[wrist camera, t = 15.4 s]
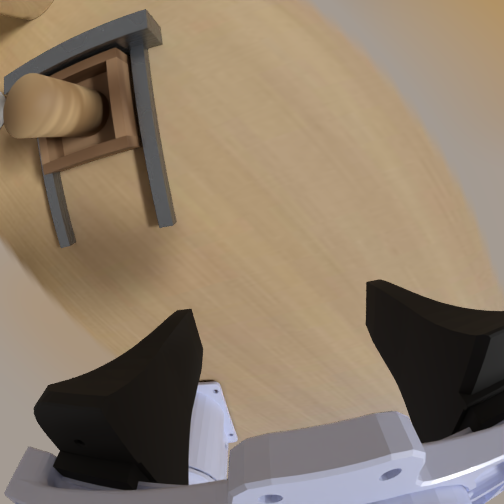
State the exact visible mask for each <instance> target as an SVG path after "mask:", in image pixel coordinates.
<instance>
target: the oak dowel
mask: <svg viewBox="0 0 504 504" xmlns="http://www.w3.org/2000/svg"><path fill="white" fill-rule="evenodd" d="M109 111H110V107H109V102H108V99H107V98H106V96H105V95H104V94H103V93H101V92H99V91H97V90H93V89H90V88H87V87H84V86H80V85H77V84H74V83H70V82H67V81H63V80H60V79H56V78H52V77H48V76H45V75H41V74H37V73H29V74H26V75H24V76H22V77H21V78H20V79H18V80H17V81H16V82H15V84H14V85H13V86H12V88H11V89H10V91H9V93H8V95H7V97H6V100H5V104H4V110H3V120H4V125H5V128H6V130H7V132H8V133H9V134H10V135H11V136H13V137H15V138H38V137H90V136H93V135H95V134H97V133H98V132H99V131H100V130H101V129H102V128H103V127H104V126H105V124H106V122H107V120H108V117H109Z"/></svg>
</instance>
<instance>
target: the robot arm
mask: <svg viewBox="0 0 504 504" xmlns="http://www.w3.org/2000/svg"><path fill="white" fill-rule="evenodd" d="M366 326H367V328H368V331H369V333H370V336H371V338H372V341H373V343H374V344H375V346H376V348H377V350H378V351H379V353H380V355H381V356H382V358H383V360H384V361H385V363H386V365H387V367H388V368H389V370H390V372H391V373H392V375H393V377H394V379H395V381H396V383H397V385H398V387H399V389H400V392H401V394H402V397H403V399H404V402H405V404H406V407H407V410H408V413H409V416H410V419H411V421H410V419H409V417H408V416H406V415H403V414H401V413H399V412H397V411H389V412H380V413H372V414H368V415H364V416H360V417H356V418H352V419H347V420H343V421H338V422H334V423H329V424H324V425H318V426H313V427H307V428H301V429H294V430H288V431H280V432H272V433H267V434H263V435H259V436H255V437H251V438H247V439H245V440H244V441H242V442H241V443H239V444H238V445H237V446H235V447H234V448H233V449H231V450H230V457H229V471H228V472H229V473H228V479H227V478H226V477H227V460H228V443H229V442H236V441H237V435H236V432H235V429H234V426H233V423H232V420H231V417H230V414H229V411H228V408H227V405H226V402H225V399H224V396H223V392H222V389H221V386H220V384H219V383H218V382H214V381H213V382H199V379H200V374H201V369H202V357H203V347H202V344H201V340H200V337H199V334H198V330H197V327H196V323H195V320H194V316H193V313H192V309H185V310H177V311H176V312H174V313H173V314H172V315H171V316H170V317H168V318H167V319H166V320H165V321H164V322H163V323H162V324H161V325H159V326H158V327H157V328H156V329H155V330H154V331H153V332H151V333H150V334H149V335H148V336H147V337H145V338H144V339H143V340H142V341H140V342H139V343H138V344H137V345H135V346H134V347H133V348H131V349H130V350H128V351H127V352H126V353H124V354H122V355H121V356H119V357H118V358H116V359H114V360H113V361H111V362H109V363H107V364H105V365H103V366H101V367H99V368H97V369H95V370H93V371H91V372H88V373H86V374H83V375H81V376H78V377H75V378H72V379H69V380H65V381H62V382H58V383H55V384H50V385H48V386H47V388H46V390H45V391H44V393H43V394H42V396H41V397H40V399H39V400H38V402H37V403H36V405H35V407H34V415H35V417H36V420H37V422H38V424H39V425H40V427H41V428H42V429H43V431H44V432H45V433H46V434H47V436H48V437H49V438H50V439H51V441H52V442H53V443H54V444H55V445H56V446H57V448H58V449H59V450H60V452H59V454H58V456H57V457H56V456H54V455H53V454H51V453H49V452H46V451H42V450H39V449H36V448H33V447H28V448H27V450H26V452H25V454H24V456H23V457H22V459H21V461H20V463H19V465H18V467H17V469H16V471H15V473H14V474H13V477H12V478H11V481H10V482H9V485H8V486H7V489H6V491H5V496H7V497H8V498H9V499H10V500H11V501H13V502H14V503H15V504H485V503H486V502H488V501H489V500H491V499H492V498H494V497H495V496H497V495H498V494H499V493H501V492H502V491H504V311H484V310H475V309H468V308H462V307H457V306H453V305H449V304H445V303H441V302H438V301H435V300H432V299H429V298H426V297H423V296H421V295H418V294H416V293H413V292H411V291H408V290H406V289H404V288H401V287H399V286H397V285H394V284H392V283H389V282H387V281H384V280H374V281H369V282H366ZM215 390H217V391H215ZM411 422H412V423H411Z"/></svg>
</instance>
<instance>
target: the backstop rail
mask: <svg viewBox="0 0 504 504" xmlns="http://www.w3.org/2000/svg"><path fill="white" fill-rule="evenodd" d="M161 44H162V37H161V28H160V26H159V25H158V24H157V22H156V21H155V20H154V19H153V17H152V16H151V15H150V14H149V12H148V11H147V10H146V9H145V10H142V11H138V12H135V13H132V14H129V15H127V16H124V17H121V18H118V19H116V20H113V21H110V22H108V23H105V24H103V25H100V26H98V27H96V28H93V29H91V30H89V31H86V32H84V33H82V34H80V35H78V36H75V37H73V38H71V39H69V40H67V41H65V42H63V43H61V44H59V45H57V46H55V47H53V48H52V49H50V50H48V51H46V52H44V53H42V54H41V55H39V56H37V57H35V58H34V59H32V60H30V61H29V62H27V63H25V64H24V65H22V66H21V67H19V68H17V69H16V70H14V71H13V72H11V73H10V74H8V75H7V76H5V77H4V94H5V95H8V93H9V91H10V89H11V88H12V86H13V85H14V84H15V82H16V81H17V80H18V79H20V78H21V77H22V76H24V75H26V74H29V73H37V74H41V75H45V76H48V77H49V76H51V75H53V74H55V73H57V72H59V71H61V70H63V69H65V68H67V67H69V66H72V65H74V64H76V63H78V62H80V61H83V60H85V59H87V58H90V57H92V56H94V55H97V54H99V53H102V52H104V51H107V50H110V49H112V48H115V47H116V48H117V49H119V50H120V51H122V52H123V53H125V54H126V55H129V54H130V56H131V65H132V74H133V83H134V91H135V98H136V105H137V112H138V119H139V125H140V132H141V138H142V144H143V149H144V155H145V160H146V166H147V171H148V176H149V181H150V186H151V191H152V196H153V201H154V205H155V210H156V214H157V219H158V223H159V227H160V228H162V227H167V226H173V225H174V224H175V223H176V217H175V212H174V208H173V203H172V198H171V193H170V188H169V183H168V178H167V173H166V167H165V162H164V156H163V151H162V145H161V139H160V133H159V127H158V121H157V115H156V108H155V101H154V94H153V87H152V80H151V72H150V64H149V56H148V48H151V47H154V46H158V45H161ZM37 140H38V138H37ZM38 147H39V140H38ZM39 154H40V147H39ZM40 160H41V154H40ZM41 166H42V160H41ZM42 172H43V166H42ZM43 177H44V182H45V187H46V192H47V197H48V201H49V205H50V210H51V214H52V218H53V222H54V226H55V229H56V233H57V237H58V240H59V243H60V247H61V248H63V247H67V246H71V245H72V244H74V243H75V242H76V240H75V236H74V233H73V229H72V225H71V221H70V217H69V213H68V209H67V205H66V201H65V196H64V192H63V187H62V182H61V177H60V172H56V173H51V174H47V175H44V172H43Z"/></svg>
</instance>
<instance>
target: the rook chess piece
mask: <svg viewBox="0 0 504 504" xmlns="http://www.w3.org/2000/svg"><path fill="white" fill-rule="evenodd" d="M5 100H6V99H5V97H4V95H3V94H2V92H0V129H1V127H2V125H3V124H4V120H3V110H4V104H5Z"/></svg>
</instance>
